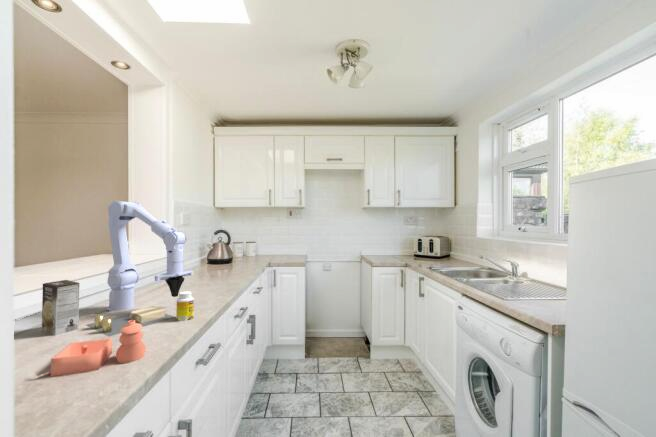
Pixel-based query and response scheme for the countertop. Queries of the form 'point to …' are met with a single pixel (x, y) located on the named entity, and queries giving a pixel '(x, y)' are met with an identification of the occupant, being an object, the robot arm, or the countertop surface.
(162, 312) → the cream beveled panel
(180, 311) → the supplement bottle
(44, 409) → the countertop surface
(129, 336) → the pottery
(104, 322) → the bench dogs
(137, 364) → the countertop surface
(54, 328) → the coffee box
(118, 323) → the board
